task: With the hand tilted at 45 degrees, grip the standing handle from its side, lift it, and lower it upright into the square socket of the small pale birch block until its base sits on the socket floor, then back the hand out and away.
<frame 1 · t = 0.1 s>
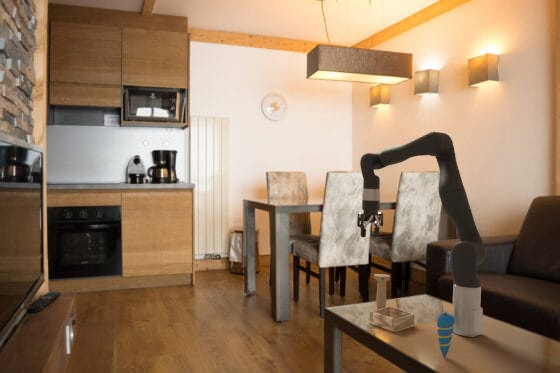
hand: (370, 236, 200), 29 cm above the table, tool pointing down, fingers open, 8 cm apart
socket block: (391, 324, 173), on the table
handle: (380, 312, 189), on the table
ornament: (444, 357, 143), on the table
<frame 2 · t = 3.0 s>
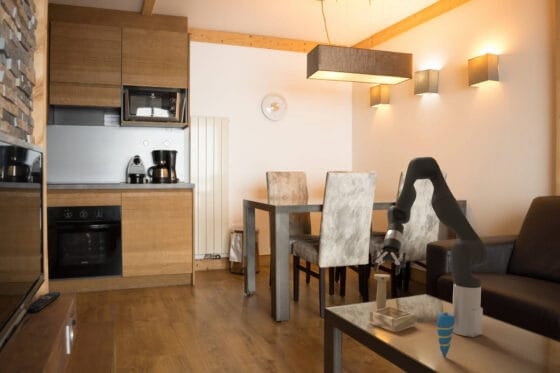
hand: (386, 272, 195), 15 cm above the table, tool tilted 45°, fingers open, 8 cm apart
nothing on the table moved.
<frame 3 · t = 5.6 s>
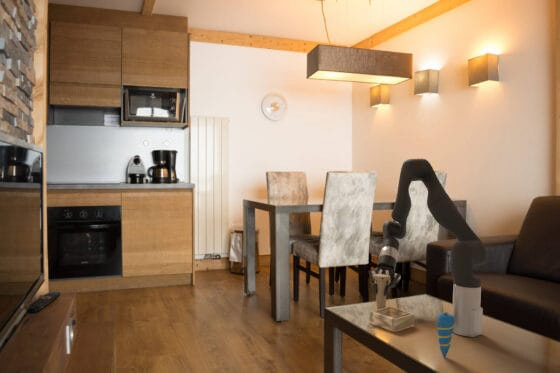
hand: (380, 293, 187), 8 cm above the table, tool tilted 45°, fingers closed on handle, 3 cm apart
handle: (380, 312, 189), on the table, touching gripper
everything else where it was.
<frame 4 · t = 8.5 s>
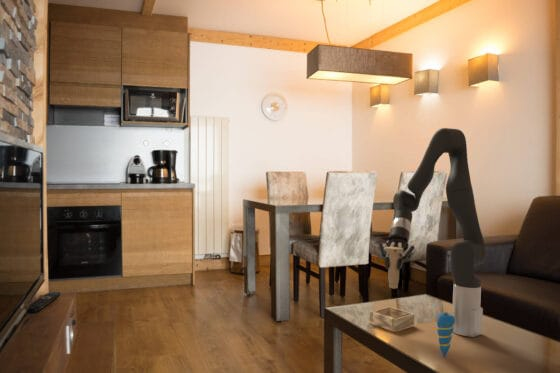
hand: (392, 267, 171), 22 cm above the table, tool tilted 45°, fingers closed on handle, 3 cm apart
handle: (393, 288, 173), point 14 cm above the table, touching gripper
everything else where it was.
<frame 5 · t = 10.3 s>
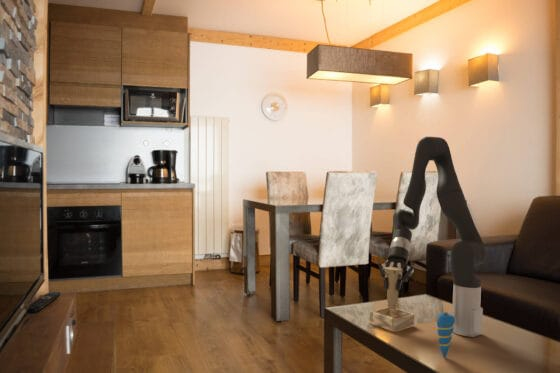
hand: (391, 288, 171), 14 cm above the table, tool tilted 45°, fingers closed on handle, 3 cm apart
handle: (392, 308, 173), point 6 cm above the table, touching gripper
everything else where it was.
when the fingers open (10 cm above the table, at t = 11.7 s): handle stays where it is, resting on socket block.
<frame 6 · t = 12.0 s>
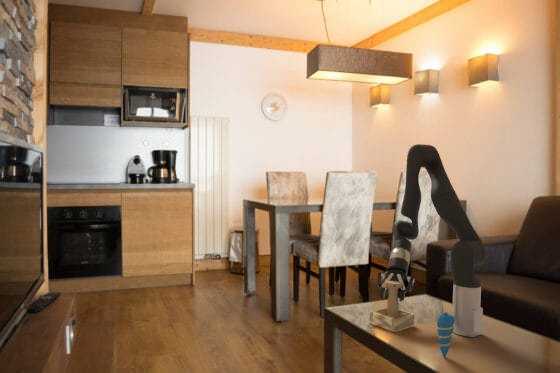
hand: (391, 299, 171), 10 cm above the table, tool tilted 45°, fingers open, 6 cm apart
handle: (392, 322, 173), point 1 cm above the table, touching socket block
everything else where it was.
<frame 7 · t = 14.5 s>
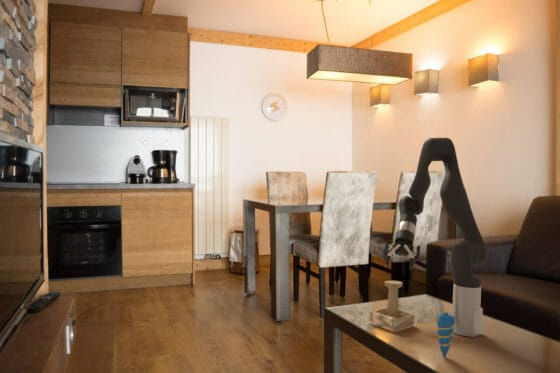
hand: (399, 266, 182), 20 cm above the table, tool tilted 45°, fingers open, 8 cm apart
nothing on the table moved.
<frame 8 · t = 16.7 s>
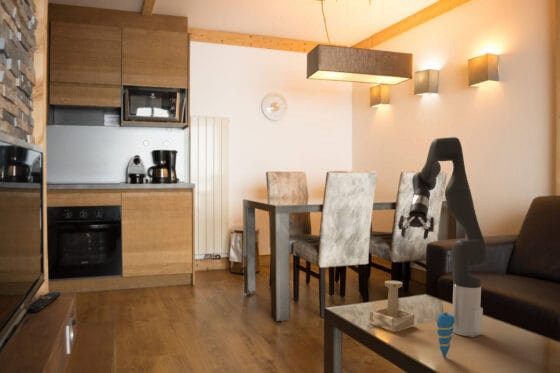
hand: (413, 237, 191), 31 cm above the table, tool tilted 45°, fingers open, 8 cm apart
nothing on the table moved.
at the end: handle 0.3 cm from the target spot, point 0.8 cm above the table; handle tilted 0°; the gripper is holding nothing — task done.
